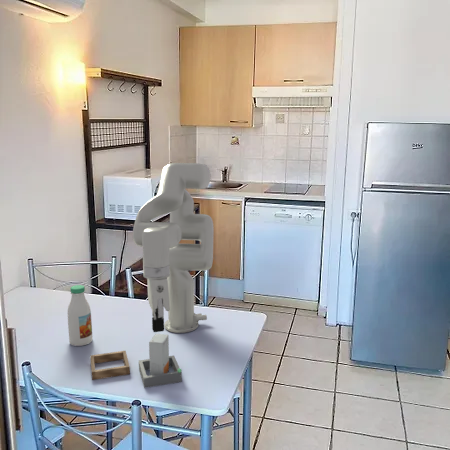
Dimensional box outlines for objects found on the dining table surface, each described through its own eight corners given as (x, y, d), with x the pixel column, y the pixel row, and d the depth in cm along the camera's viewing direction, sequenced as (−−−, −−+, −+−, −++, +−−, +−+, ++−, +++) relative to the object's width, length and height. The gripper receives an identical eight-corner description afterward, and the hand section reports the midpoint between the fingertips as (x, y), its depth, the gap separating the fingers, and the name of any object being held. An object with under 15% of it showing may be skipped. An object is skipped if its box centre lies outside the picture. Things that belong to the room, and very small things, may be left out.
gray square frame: (174, 364, 152) (174, 352, 151) (182, 381, 141) (182, 369, 140) (139, 369, 148) (138, 357, 147) (144, 388, 138) (143, 375, 137)
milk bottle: (71, 348, 162) (67, 292, 158) (67, 339, 169) (63, 285, 165) (94, 343, 166) (91, 288, 161) (90, 335, 172) (86, 281, 168)
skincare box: (163, 381, 142) (162, 343, 139) (149, 379, 143) (148, 342, 140) (169, 370, 148) (168, 334, 145) (156, 369, 148) (155, 333, 146)
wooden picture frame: (125, 357, 156) (125, 350, 155) (129, 374, 146) (129, 366, 145) (90, 362, 153) (90, 355, 152) (92, 380, 142) (91, 372, 142)
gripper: (174, 277, 132) (176, 339, 136) (164, 262, 146) (166, 319, 150) (147, 279, 130) (149, 343, 133) (139, 264, 144) (141, 322, 147)
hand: (158, 330), depth 142 cm, fingers closed
